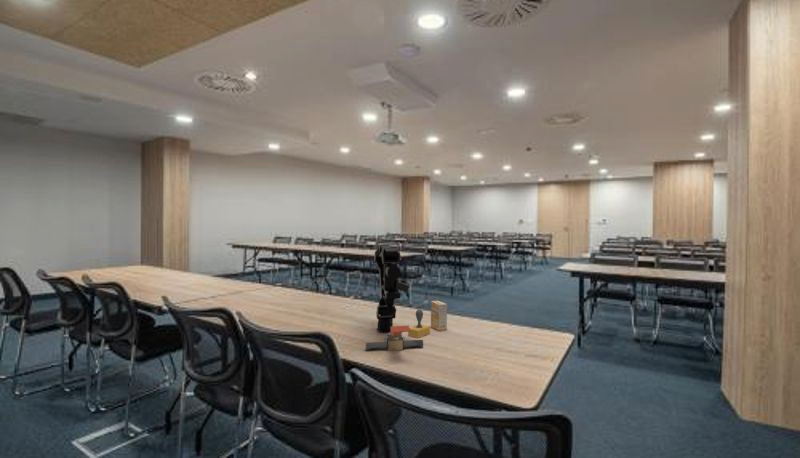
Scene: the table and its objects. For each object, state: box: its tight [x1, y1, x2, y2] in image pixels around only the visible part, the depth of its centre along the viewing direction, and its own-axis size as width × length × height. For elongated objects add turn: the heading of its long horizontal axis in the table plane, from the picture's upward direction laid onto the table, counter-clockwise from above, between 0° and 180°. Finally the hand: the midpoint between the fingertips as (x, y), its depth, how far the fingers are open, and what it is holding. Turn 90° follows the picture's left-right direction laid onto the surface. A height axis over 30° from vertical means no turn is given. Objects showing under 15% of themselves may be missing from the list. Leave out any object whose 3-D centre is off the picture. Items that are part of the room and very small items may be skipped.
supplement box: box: [430, 300, 448, 332], centre depth 191 cm, size 8×5×13 cm, turn 25°
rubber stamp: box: [407, 309, 431, 339], centre depth 181 cm, size 10×6×12 cm, turn 140°
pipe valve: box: [364, 333, 424, 352], centre depth 161 cm, size 5×24×6 cm, turn 101°
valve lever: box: [390, 325, 410, 338], centre depth 155 cm, size 2×7×15 cm
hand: (390, 310), depth 173 cm, fingers closed
